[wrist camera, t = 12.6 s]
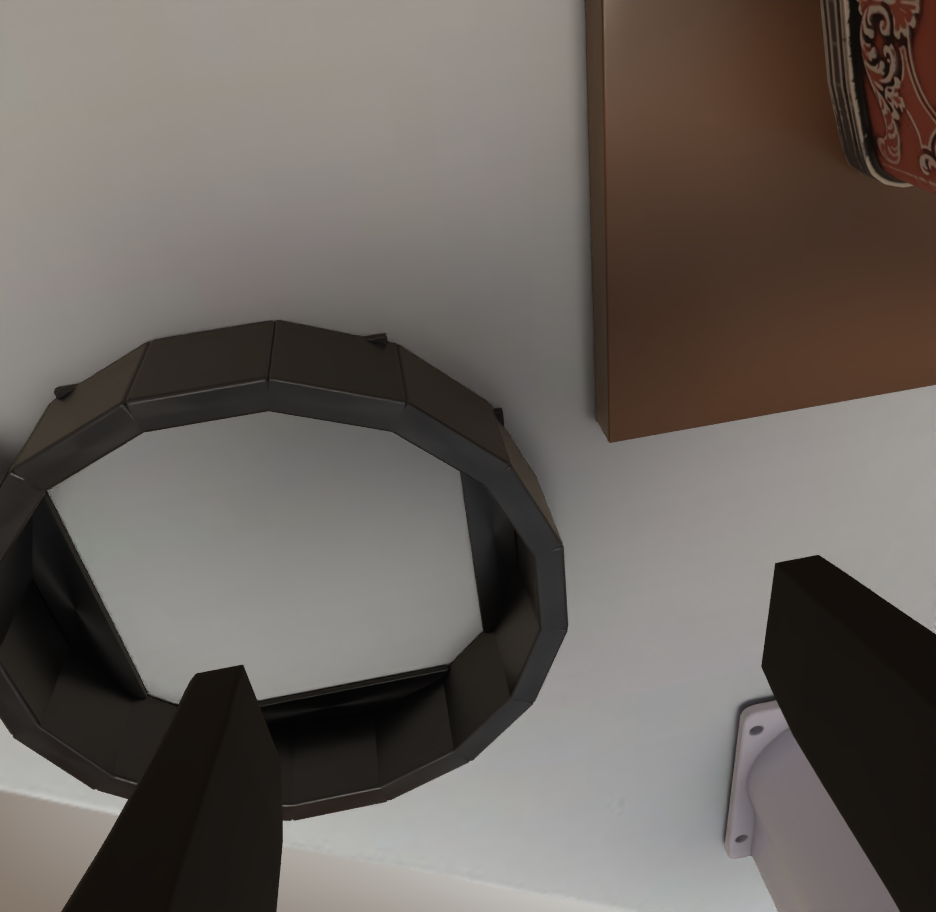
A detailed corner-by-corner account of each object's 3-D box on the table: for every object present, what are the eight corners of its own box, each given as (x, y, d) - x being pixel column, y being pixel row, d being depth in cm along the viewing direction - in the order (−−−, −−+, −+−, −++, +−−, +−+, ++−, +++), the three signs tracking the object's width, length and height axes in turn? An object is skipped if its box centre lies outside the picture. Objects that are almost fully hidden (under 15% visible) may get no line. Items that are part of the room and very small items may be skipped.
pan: (553, 688, 27) (577, 764, 24) (-104, 817, 26) (-150, 912, 23) (506, 87, 17) (539, 113, 14) (-602, 252, 15) (-784, 312, 13)
